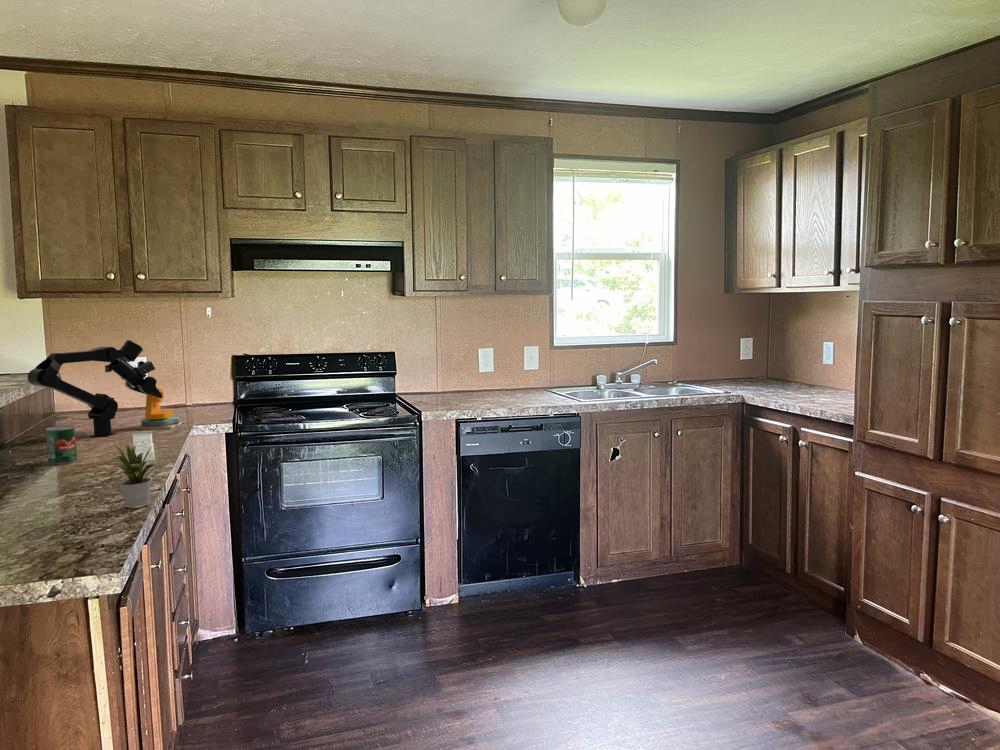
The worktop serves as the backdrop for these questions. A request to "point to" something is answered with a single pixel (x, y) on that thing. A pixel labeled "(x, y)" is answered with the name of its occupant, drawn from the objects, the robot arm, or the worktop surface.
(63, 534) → the worktop surface
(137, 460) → the house plant
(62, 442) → the canned tomato
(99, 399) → the robot arm
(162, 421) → the teal flat pad
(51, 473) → the worktop surface
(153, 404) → the bracket
